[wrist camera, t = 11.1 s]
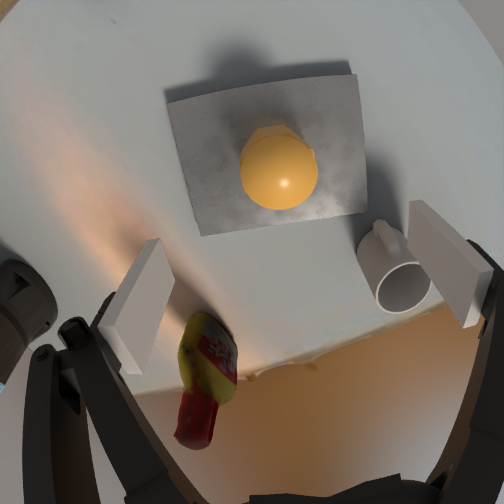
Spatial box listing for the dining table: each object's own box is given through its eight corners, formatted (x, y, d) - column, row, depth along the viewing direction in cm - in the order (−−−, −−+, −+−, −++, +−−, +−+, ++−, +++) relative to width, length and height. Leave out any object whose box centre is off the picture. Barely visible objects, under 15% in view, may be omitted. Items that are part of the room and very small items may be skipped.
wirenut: (250, 189, 34) (248, 215, 28) (238, 131, 31) (233, 143, 24) (309, 180, 33) (321, 204, 27) (301, 121, 30) (312, 131, 24)
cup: (362, 278, 41) (380, 321, 34) (343, 217, 37) (364, 255, 29) (407, 260, 40) (434, 300, 32) (395, 197, 35) (427, 230, 27)
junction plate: (203, 230, 38) (195, 253, 33) (170, 102, 30) (154, 106, 25) (364, 207, 36) (378, 226, 31) (352, 74, 28) (369, 73, 23)
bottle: (177, 307, 45) (143, 426, 27) (216, 298, 43) (196, 424, 26) (210, 358, 50) (195, 466, 33) (246, 351, 49) (240, 464, 32)
